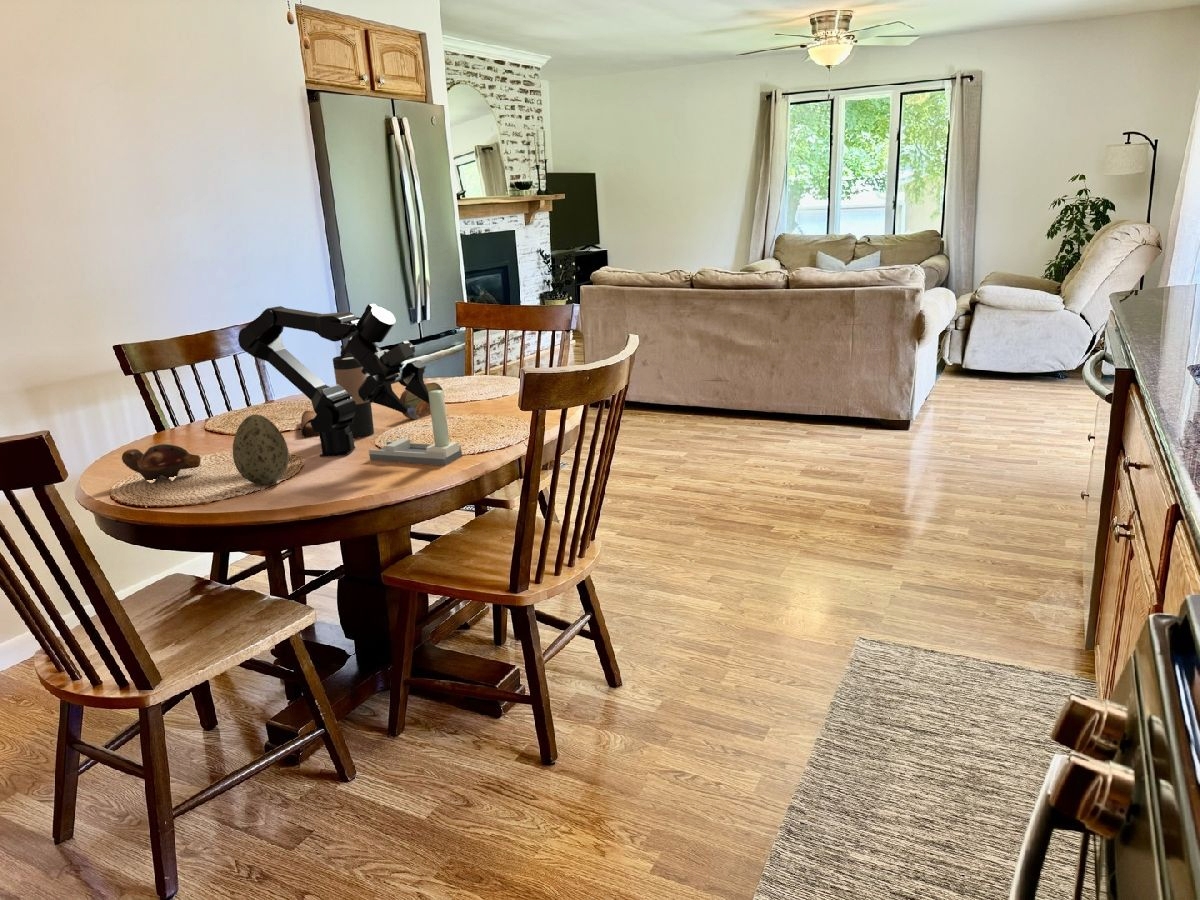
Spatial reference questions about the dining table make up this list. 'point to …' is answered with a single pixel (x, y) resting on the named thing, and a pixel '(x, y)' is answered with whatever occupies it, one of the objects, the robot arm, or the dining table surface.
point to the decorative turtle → (160, 461)
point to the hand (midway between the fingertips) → (418, 406)
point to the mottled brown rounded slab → (418, 402)
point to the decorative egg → (260, 450)
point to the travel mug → (354, 394)
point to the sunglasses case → (308, 424)
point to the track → (411, 453)
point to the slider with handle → (440, 426)
